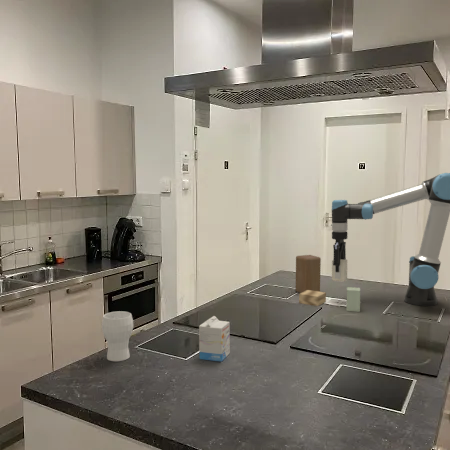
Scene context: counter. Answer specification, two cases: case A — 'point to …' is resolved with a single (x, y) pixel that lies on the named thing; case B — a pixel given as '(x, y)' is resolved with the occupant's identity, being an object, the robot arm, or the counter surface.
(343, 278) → the cream block
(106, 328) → the cup
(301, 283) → the wooden block
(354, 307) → the sage block
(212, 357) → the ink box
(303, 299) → the oak base
